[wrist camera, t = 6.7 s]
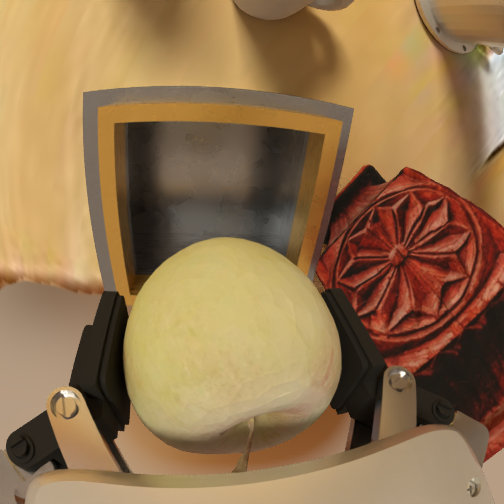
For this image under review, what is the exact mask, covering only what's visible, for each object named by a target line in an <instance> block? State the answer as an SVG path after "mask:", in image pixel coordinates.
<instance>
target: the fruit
mask: <svg viewBox="0 0 504 504" xmlns="http://www.w3.org/2000/svg"><path fill="white" fill-rule="evenodd" d="M341 369H342V363H341V346H340V339H339V334H338V331H337V328H336V325H335V322H334V319H333V317H332V315H331V313H330V311H329V309H328V307H327V305H326V303H325V301H324V299H323V298H322V296H321V295H320V293H319V291H318V290H317V288H316V287H315V285H314V284H313V283H312V282H311V280H310V279H309V278H308V277H307V276H306V275H305V274H304V273H303V272H302V271H301V270H300V269H299V268H298V267H297V266H296V265H294V264H293V263H292V262H291V261H289V260H288V259H287V258H286V257H284V256H283V255H281V254H280V253H278V252H276V251H274V250H273V249H271V248H269V247H267V246H264V245H262V244H260V243H257V242H253V241H249V240H245V239H240V238H230V237H219V238H212V239H207V240H204V241H200V242H197V243H194V244H192V245H190V246H188V247H186V248H184V249H182V250H181V251H179V252H178V253H176V254H175V255H173V256H172V257H170V258H169V259H167V260H166V261H165V262H163V263H162V264H161V265H160V266H159V267H158V268H157V269H156V270H155V271H154V273H153V274H152V275H151V276H150V277H149V279H148V280H147V281H146V282H145V284H144V285H143V287H142V288H141V290H140V292H139V293H138V295H137V297H136V299H135V302H134V304H133V307H132V310H131V312H130V316H129V318H128V322H127V326H126V331H125V336H124V342H123V372H124V377H125V382H126V387H127V391H128V395H129V398H130V400H131V403H132V405H133V407H134V409H135V411H136V413H137V415H138V416H139V418H140V419H141V421H142V422H143V424H144V425H145V426H146V427H147V428H148V429H149V430H150V431H151V432H152V433H153V434H154V435H155V436H156V437H158V438H159V439H160V440H162V441H163V442H165V443H166V444H167V445H170V446H172V447H174V448H177V449H179V450H181V451H186V452H192V453H201V454H231V453H243V455H242V456H241V458H240V459H239V461H238V463H237V465H236V467H235V469H234V470H233V471H232V473H239V472H246V471H247V464H248V458H249V453H250V452H254V451H259V450H263V449H266V448H270V447H273V446H276V445H279V444H281V443H283V442H285V441H288V440H290V439H292V438H293V437H295V436H296V435H298V434H299V433H301V432H302V431H304V430H305V429H306V428H308V427H309V426H310V425H312V424H313V423H314V422H315V421H316V420H317V419H318V418H319V417H320V416H321V415H322V414H323V412H324V411H325V409H326V408H327V407H328V405H329V404H330V402H331V400H332V398H333V396H334V394H335V392H336V389H337V386H338V383H339V380H340V375H341Z"/></svg>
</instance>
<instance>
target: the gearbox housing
mask: <svg viewBox="0 0 504 504" xmlns="http://www.w3.org/2000/svg"><path fill="white" fill-rule="evenodd" d="M353 111H354V108H350V107H346V106H341V105H337V104H333V103H328V102H324V101H319V100H314V99H308V98H303V97H297V96H291V95H285V94H278V93H271V92H264V91H255V90H246V89H235V88H221V87H202V86H150V87H130V88H117V89H107V90H98V91H90V92H83V143H84V162H85V175H86V185H87V195H88V203H89V211H90V218H91V224H92V231H93V237H94V242H95V248H96V253H97V258H98V263H99V268H100V272H101V277H102V281H103V285H104V289H105V291H118V292H119V294H120V295H122V296H124V298H125V303H126V305H133V304H134V302H135V299H136V297H137V295H138V293H139V292H140V290H141V288H142V287H143V285H144V284H145V282H146V281H147V280H148V279H149V277H150V276H151V275H152V274H153V273H154V271H155V270H156V269H157V268H158V267H159V266H160V265H161V264H162V263H163V262H165V261H166V260H167V259H169V258H170V257H172V256H173V255H175V254H176V253H178V252H179V251H181V250H182V249H184V248H186V247H188V246H190V245H192V244H194V243H197V242H200V241H204V240H207V239H212V238H219V237H230V238H240V239H245V240H249V241H253V242H257V243H260V244H262V245H264V246H267V247H269V248H271V249H273V250H274V251H276V252H278V253H280V254H281V255H283V256H284V257H286V258H287V259H288V260H289V261H291V262H292V263H293V264H294V265H296V266H297V267H298V268H299V269H300V270H301V271H302V272H303V273H304V274H305V275H306V276H307V277H308V278H309V279H310V280H311V282H313V279H314V275H315V272H316V268H317V265H318V261H319V258H320V254H321V251H322V247H323V243H324V240H325V236H326V232H327V228H328V224H329V221H330V217H331V213H332V209H333V205H334V201H335V196H336V192H337V188H338V184H339V179H340V175H341V171H342V166H343V161H344V157H345V152H346V147H347V142H348V137H349V132H350V127H351V122H352V116H353Z"/></svg>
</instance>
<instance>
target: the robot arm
mask: <svg viewBox="0 0 504 504" xmlns="http://www.w3.org/2000/svg"><path fill="white" fill-rule="evenodd" d="M415 2H416V5H417V8H418V11H419V14H420V16H421V18H422V20H423V22H424V24H425V25H426V27H427V28H428V30H429V32H430V33H431V34H432V35H433V37H434V38H435V39H436V40H437V41H438V42H439V43H440V44H441V45H442V46H444V47H445V48H446V49H448V50H450V51H452V52H455V53H462V54H465V53H469V52H471V51H473V50H474V48H475V47H476V45H477V44H478V45H485V46H489V48H490V49H491V50H492V51H493V52H495V53H496V54H497V55H500V54H502V53H503V48H504V0H415ZM321 296H322V298H323V299H324V301H325V303H326V305H327V307H328V309H329V311H330V313H331V315H332V317H333V319H334V322H335V325H336V328H337V331H338V334H339V339H340V346H341V363H342V369H341V375H340V380H339V383H338V386H337V389H336V392H335V394H334V396H333V398H332V400H331V402H330V405H331V407H332V408H333V409H336V411H337V414H343V413H346V412H349V415H350V417H351V421H350V427H349V433H348V437H347V442H346V447H345V452H342V453H338V454H334V455H331V456H327V457H323V458H319V459H315V460H311V461H307V462H302V463H297V464H292V465H287V466H282V467H276V468H270V469H263V470H256V471H249V472H239V473H228V474H214V475H187V476H186V475H185V476H184V475H183V476H182V475H179V476H178V475H174V476H173V475H147V474H133V472H132V470H131V469H130V467H129V465H128V464H127V462H126V460H125V459H124V457H123V455H122V453H121V452H120V450H119V448H118V447H117V445H116V443H115V441H114V439H116V438H117V435H118V431H124V427H125V425H128V424H129V419H130V402H131V400H130V398H129V395H128V391H127V387H126V382H125V377H124V372H123V342H124V336H125V331H126V326H127V322H128V318H129V316H128V312H127V307H126V303H125V298H124V296H122V295H120V294H119V292H118V291H104V292H103V294H102V297H101V300H100V303H99V306H98V309H97V313H96V316H95V319H94V323H93V325H86V326H85V328H84V330H83V333H82V337H81V340H80V344H79V347H78V351H77V355H76V358H75V362H74V366H73V370H72V374H71V379H70V383H69V386H63V387H59V388H57V389H55V390H53V391H52V392H51V393H50V395H49V397H48V399H47V403H46V408H47V410H46V411H44V412H43V413H41V414H40V415H38V416H37V417H35V418H34V419H32V420H31V421H30V422H28V423H26V424H25V425H23V426H22V427H20V428H19V429H17V430H16V431H14V432H13V433H12V434H11V435H10V436H9V438H8V439H7V443H6V449H5V450H4V451H3V450H0V504H495V503H494V499H493V497H492V494H491V491H490V488H489V486H488V483H487V481H486V478H485V475H484V473H483V471H482V465H483V462H484V458H485V454H486V450H487V446H488V441H489V432H488V429H487V428H486V426H484V425H483V424H481V423H480V422H478V421H476V420H474V419H472V418H470V417H469V416H467V415H465V414H463V413H461V412H459V411H458V410H457V411H456V412H455V411H454V407H453V406H452V404H451V403H450V402H449V401H448V400H447V399H445V398H443V397H441V396H438V395H436V394H434V393H431V392H429V391H427V390H425V389H422V388H420V387H418V386H416V382H415V378H414V376H413V374H412V373H411V372H410V371H409V370H408V369H406V368H405V367H402V366H396V365H395V366H390V367H389V368H388V366H387V364H386V362H385V361H384V359H383V357H382V355H381V354H380V352H379V350H378V348H377V347H376V345H375V343H374V341H373V340H372V338H371V336H370V335H369V333H368V331H367V329H366V328H365V326H364V324H363V323H362V321H361V319H360V318H359V316H358V314H357V313H356V311H355V309H354V308H353V306H352V304H351V303H350V301H349V300H348V298H347V296H346V295H345V293H344V292H343V290H342V289H341V288H328V289H326V291H325V292H323V293H322V294H321Z"/></svg>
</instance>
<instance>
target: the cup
mask: <svg viewBox="0 0 504 504" xmlns="http://www.w3.org/2000/svg"><path fill="white" fill-rule="evenodd" d="M233 1H234V3H235V4H236V5H237V6H238V7H239V8H240V9H241V10H242V11H244V12H245V13H247V14H248V15H250V16H253V17H255V18H259V19H264V20H278V19H283V18H286V17H288V16H290V15H292V14H295V13H296V12H298V11H299V10H301V9H303V8H304V7H306V6H310V7H313V8H316V9H321V10H327V11H336V10H341V9H344V8H346V7H347V6H349V5H350V4H351V3H352V2H353V1H354V0H233Z"/></svg>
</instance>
